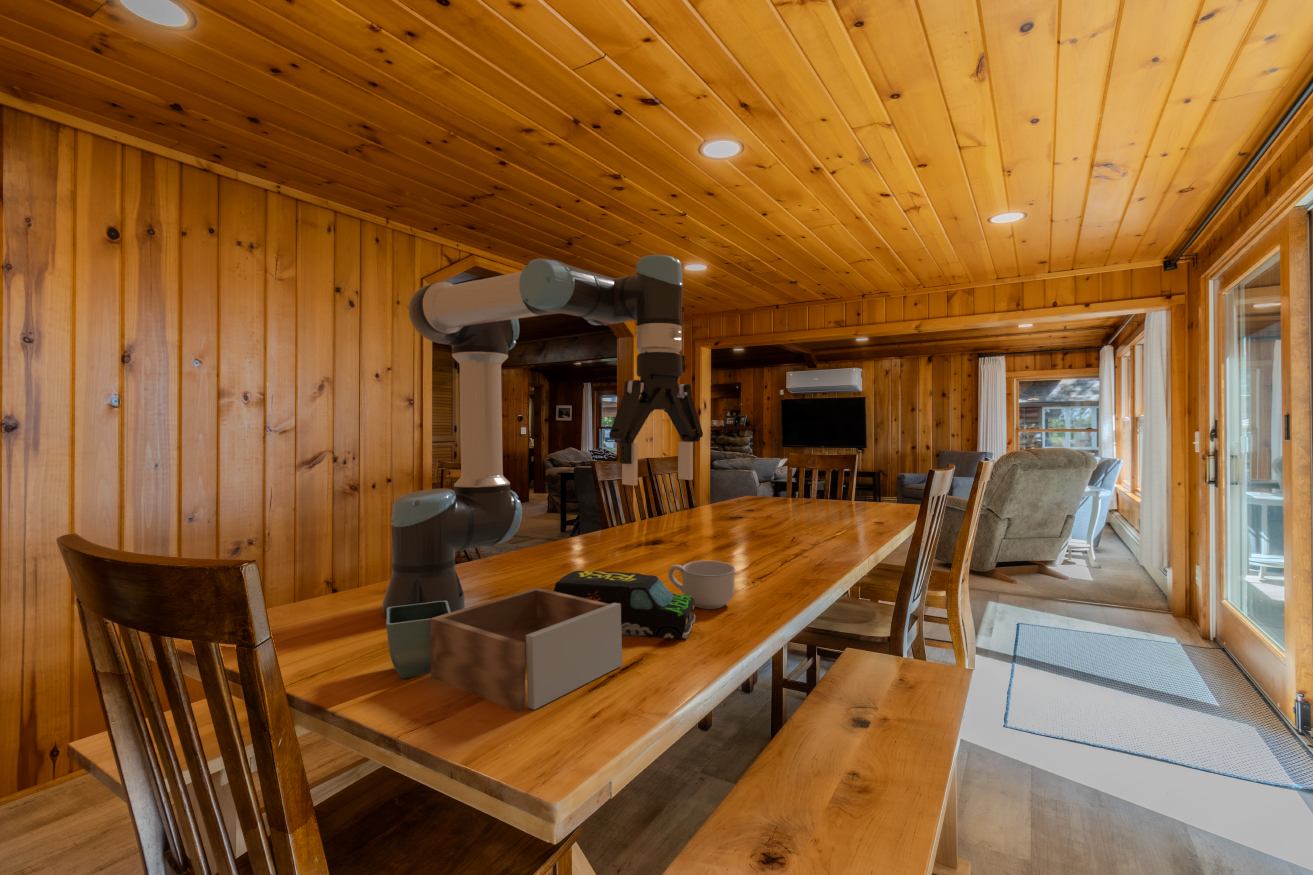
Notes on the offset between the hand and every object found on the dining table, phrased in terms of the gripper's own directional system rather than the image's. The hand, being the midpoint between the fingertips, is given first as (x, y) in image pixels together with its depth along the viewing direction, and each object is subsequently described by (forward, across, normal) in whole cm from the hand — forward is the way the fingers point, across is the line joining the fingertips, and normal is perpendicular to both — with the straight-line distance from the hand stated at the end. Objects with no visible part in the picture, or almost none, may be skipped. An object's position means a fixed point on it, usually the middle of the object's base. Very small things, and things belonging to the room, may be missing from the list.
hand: (659, 482), depth 100 cm
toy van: (+28, +1, +9) cm, 29 cm away
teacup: (+28, +24, +10) cm, 37 cm away
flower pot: (+28, -32, +19) cm, 46 cm away
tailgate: (+26, -21, -4) cm, 34 cm away
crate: (+27, -22, +5) cm, 35 cm away
